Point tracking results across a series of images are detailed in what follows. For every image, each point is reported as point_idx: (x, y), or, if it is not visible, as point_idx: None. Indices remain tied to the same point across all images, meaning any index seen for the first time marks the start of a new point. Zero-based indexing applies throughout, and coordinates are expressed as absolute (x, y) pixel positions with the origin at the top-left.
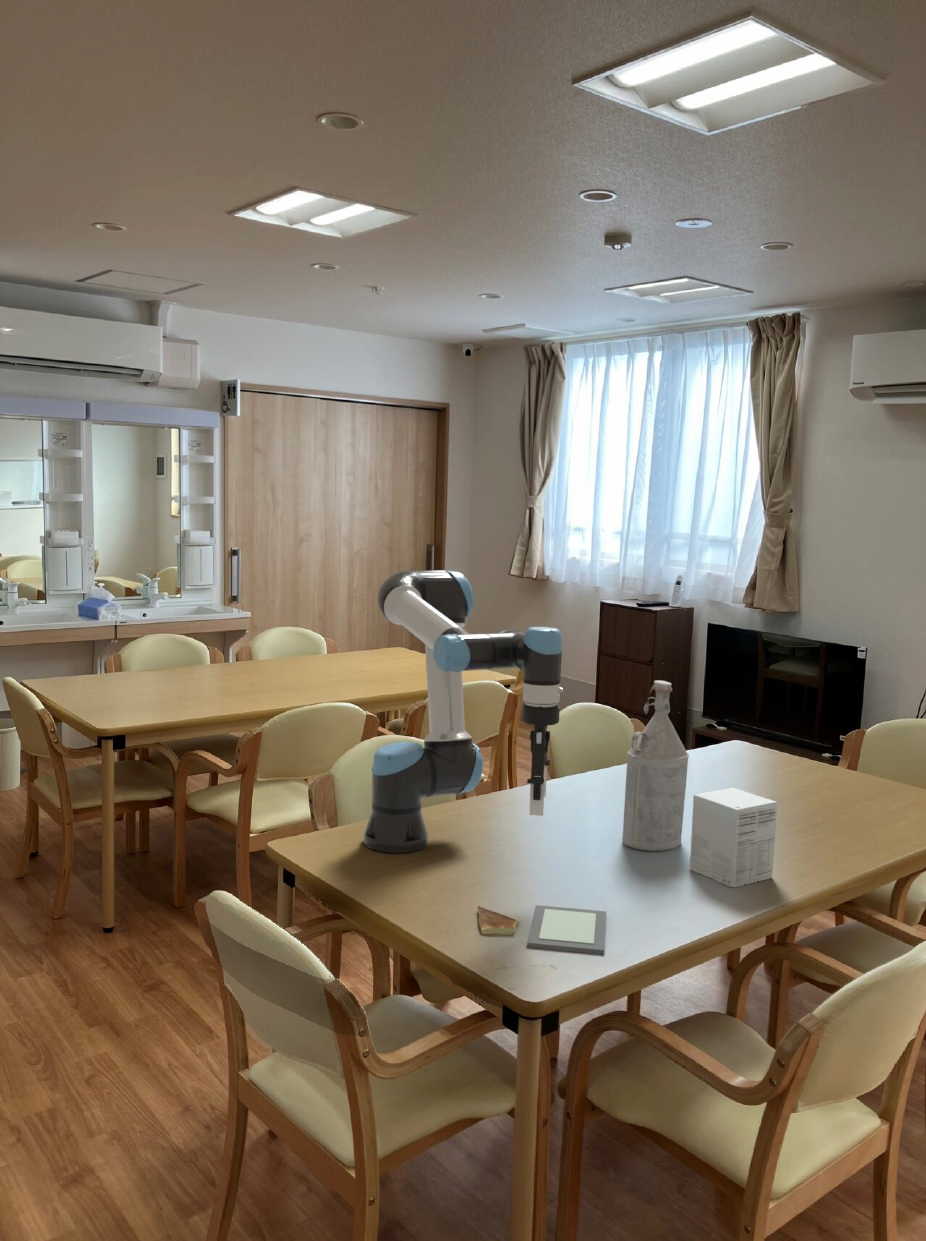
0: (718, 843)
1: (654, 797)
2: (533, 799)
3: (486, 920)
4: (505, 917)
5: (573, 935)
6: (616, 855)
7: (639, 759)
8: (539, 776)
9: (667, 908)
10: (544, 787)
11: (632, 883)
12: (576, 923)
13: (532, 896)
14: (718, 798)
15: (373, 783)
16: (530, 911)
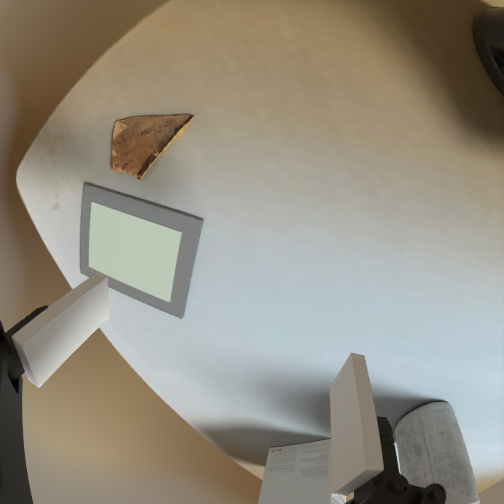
0: (285, 480)
1: (408, 480)
2: (45, 307)
3: (135, 128)
4: (146, 159)
5: (102, 249)
6: (407, 389)
7: None
8: (345, 440)
9: (211, 386)
10: (332, 414)
11: (300, 383)
12: (134, 264)
13: (260, 226)
14: None
15: None
16: (193, 208)
